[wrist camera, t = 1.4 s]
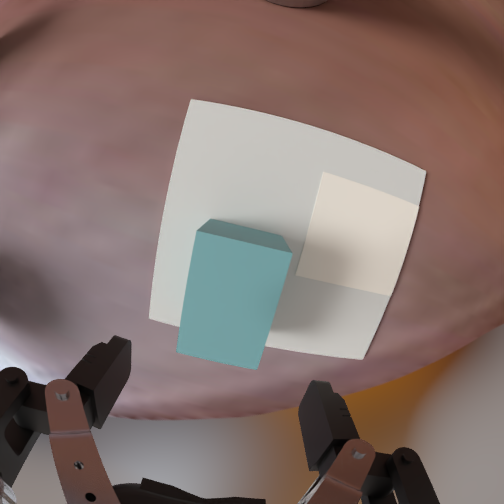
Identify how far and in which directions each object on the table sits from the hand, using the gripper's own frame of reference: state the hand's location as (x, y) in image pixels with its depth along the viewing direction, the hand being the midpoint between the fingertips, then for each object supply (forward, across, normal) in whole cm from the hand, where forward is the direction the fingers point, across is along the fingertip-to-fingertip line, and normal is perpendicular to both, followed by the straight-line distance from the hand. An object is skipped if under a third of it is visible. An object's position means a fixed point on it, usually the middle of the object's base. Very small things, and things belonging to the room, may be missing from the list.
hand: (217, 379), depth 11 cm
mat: (+14, -4, -4) cm, 15 cm away
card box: (+13, 0, 0) cm, 13 cm away
